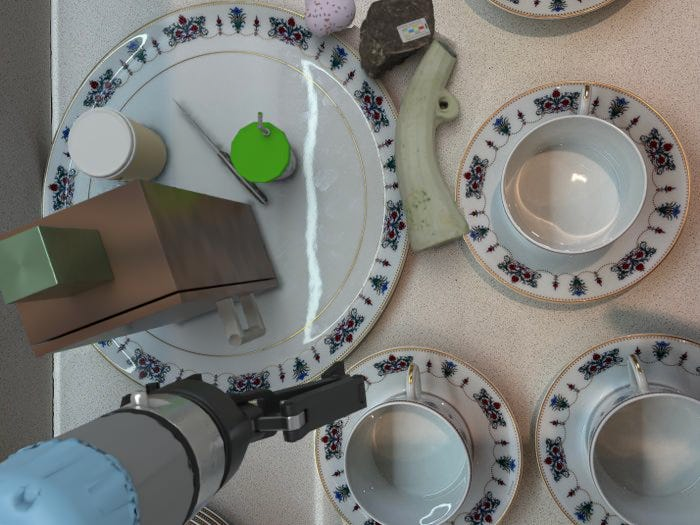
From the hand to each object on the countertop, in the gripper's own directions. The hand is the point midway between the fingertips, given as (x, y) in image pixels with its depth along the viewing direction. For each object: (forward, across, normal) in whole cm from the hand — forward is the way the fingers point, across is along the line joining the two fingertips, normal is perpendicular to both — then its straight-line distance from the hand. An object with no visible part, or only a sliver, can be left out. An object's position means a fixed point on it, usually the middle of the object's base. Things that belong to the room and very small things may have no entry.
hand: (269, 381), depth 61 cm
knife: (+33, +13, -28) cm, 45 cm away
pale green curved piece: (+28, -11, -24) cm, 39 cm away
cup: (+33, +5, -25) cm, 42 cm away
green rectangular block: (-1, +16, -13) cm, 21 cm away
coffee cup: (+33, +26, -29) cm, 50 cm away
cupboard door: (+32, +14, -4) cm, 35 cm away
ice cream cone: (+32, -10, -54) cm, 64 cm away
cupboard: (+32, +16, -12) cm, 38 cm away
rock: (+29, -8, -42) cm, 51 cm away
